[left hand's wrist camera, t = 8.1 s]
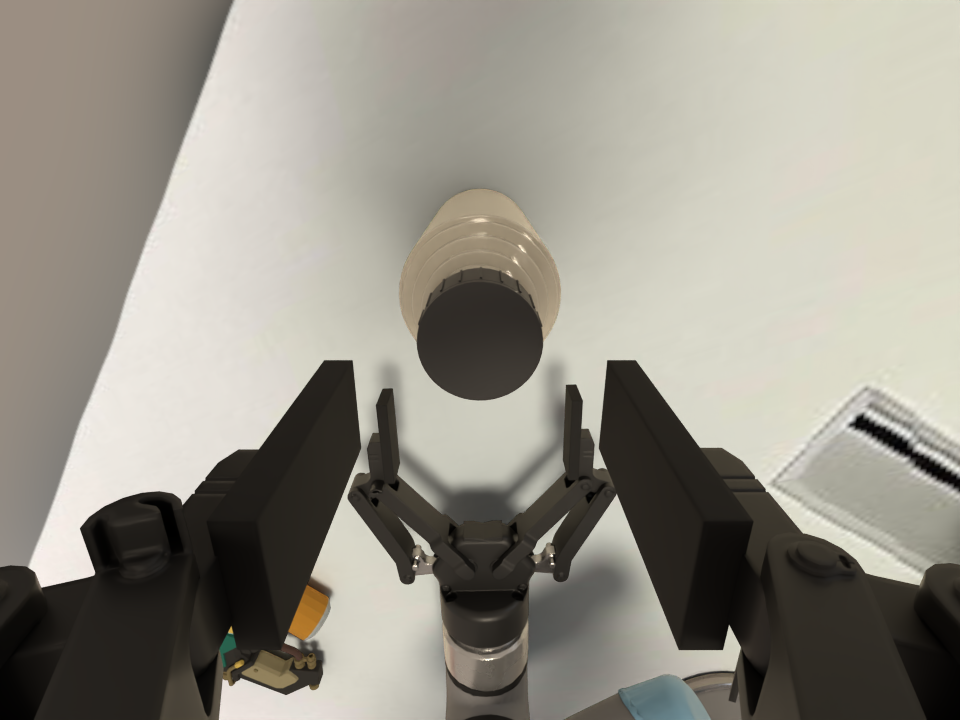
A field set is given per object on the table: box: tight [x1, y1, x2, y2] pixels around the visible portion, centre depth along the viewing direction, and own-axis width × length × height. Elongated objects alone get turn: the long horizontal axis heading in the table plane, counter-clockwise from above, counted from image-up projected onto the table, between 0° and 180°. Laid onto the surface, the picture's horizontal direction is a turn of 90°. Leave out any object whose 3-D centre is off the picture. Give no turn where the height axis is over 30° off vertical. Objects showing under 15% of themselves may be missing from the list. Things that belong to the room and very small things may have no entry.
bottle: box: [399, 189, 561, 342], centre depth 30 cm, size 8×8×22 cm
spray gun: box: [219, 585, 330, 695], centre depth 52 cm, size 4×17×15 cm
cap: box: [417, 267, 543, 400], centre depth 20 cm, size 5×5×2 cm
